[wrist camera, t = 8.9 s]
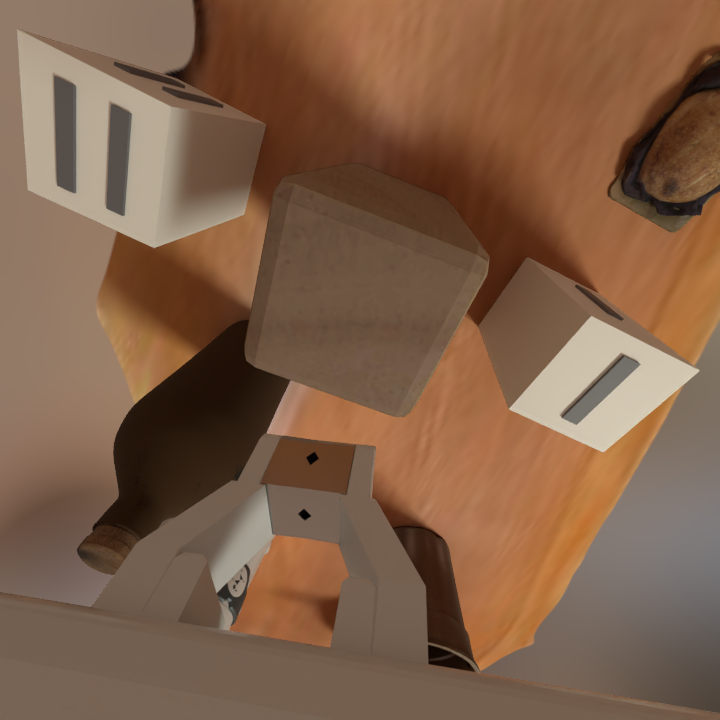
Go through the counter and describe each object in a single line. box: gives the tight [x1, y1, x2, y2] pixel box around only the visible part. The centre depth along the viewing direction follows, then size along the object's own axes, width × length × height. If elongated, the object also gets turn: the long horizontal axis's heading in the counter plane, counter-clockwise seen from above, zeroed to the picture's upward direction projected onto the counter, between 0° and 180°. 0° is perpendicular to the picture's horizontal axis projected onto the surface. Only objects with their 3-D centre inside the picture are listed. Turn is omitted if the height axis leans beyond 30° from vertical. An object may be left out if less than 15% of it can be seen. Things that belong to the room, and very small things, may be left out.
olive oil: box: [77, 320, 290, 575], centre depth 32 cm, size 11×11×25 cm
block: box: [245, 163, 490, 417], centre depth 25 cm, size 10×10×20 cm
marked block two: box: [17, 29, 266, 248], centre depth 26 cm, size 8×8×14 cm
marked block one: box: [478, 257, 700, 452], centre depth 29 cm, size 8×8×14 cm
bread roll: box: [608, 52, 720, 232], centre depth 27 cm, size 11×8×4 cm
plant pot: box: [393, 527, 480, 673], centre depth 51 cm, size 16×16×16 cm
